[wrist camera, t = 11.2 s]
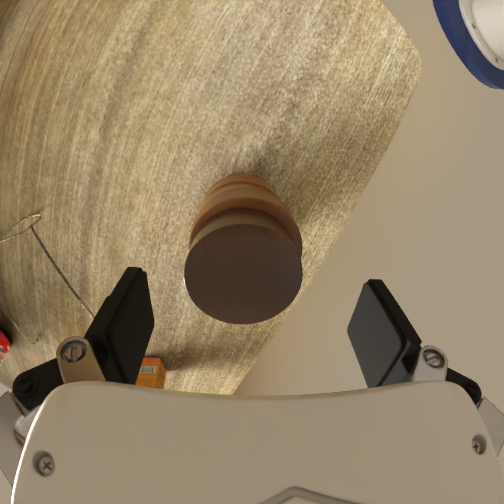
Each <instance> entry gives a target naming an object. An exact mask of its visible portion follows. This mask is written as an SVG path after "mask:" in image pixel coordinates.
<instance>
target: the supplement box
mask: <svg viewBox="0 0 504 504" xmlns="http://www.w3.org/2000/svg"><path fill="white" fill-rule="evenodd" d="M165 376H166V370H165V368H164V365H163V363H162V361H161V358H155V357H144V358H143V362H142V365H141V368H140V371H139V374H138V378H137V381H136V385H137V386H144V387H150V388H158V389H163V387H164V382H165Z"/></svg>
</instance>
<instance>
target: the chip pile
mask: <svg viewBox="0 0 504 504" xmlns="http://www.w3.org/2000/svg"><path fill="white" fill-rule="evenodd" d="M232 208H253V209H257V210H261V211H264V212H266V213H268V214H270V215H272V216H274V217H275V218H276V219H278V220H279V221H280V222H281V223H282V224H283V225H284V226H285V228H286V229H287V230H288V232H289V234H290V236H291V238H292V240H293V243H294V245H295V248H296V250H297V252H298V255H299V257H300V260H301V256H302V239H301V234H300V231H299V229H298V227H297V225H296V223H295V221H294V219H293V217H292V215H291V213H290V212H289V210H288V208H287V207H286V206H285V204H284V203H283V202H282V201H281V199H280V197H279V196H278V194H277V192H276V191H275V189H274V188H273V187H272V186H271V185H270V184H269V183H268V182H266V181H265V180H263V179H261V178H259V177H256V176H253V175H248V174H236V175H231V176H228V177H225V178H223V179H221V180H220V181H218V182H217V183H215V184H214V185H213V186H212V187H211V188H210V189H209V191H208V192H207V194H206V196H205V198H204V200H203V202H202V204H201V206H200V207H199V209H198V212H197V214H196V217H195V219H194V222H193V224H192V228H191V234H190V238H189V243H188V252H189V249H190V246H191V244H192V241H193V238H194V236H195V234H196V232H197V230H198V229H199V228H200V226H201V225H202V224H203V223H204V222H205V221H206V220H208V219H209V218H210V217H212V216H214V215H215V214H217V213H219V212H222V211H224V210H228V209H232Z"/></svg>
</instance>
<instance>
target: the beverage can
mask: <svg viewBox="0 0 504 504" xmlns="http://www.w3.org/2000/svg"><path fill="white" fill-rule="evenodd" d="M11 346H12V344H11V341H10V339H9V337H8V336H7V334H6V333H5V332H4V331H3V330H2V329H1V328H0V366H1V364H2V363H3V361H4V359H5V358H6V356H7V355H8V353H9V351H10V350H11Z"/></svg>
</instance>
